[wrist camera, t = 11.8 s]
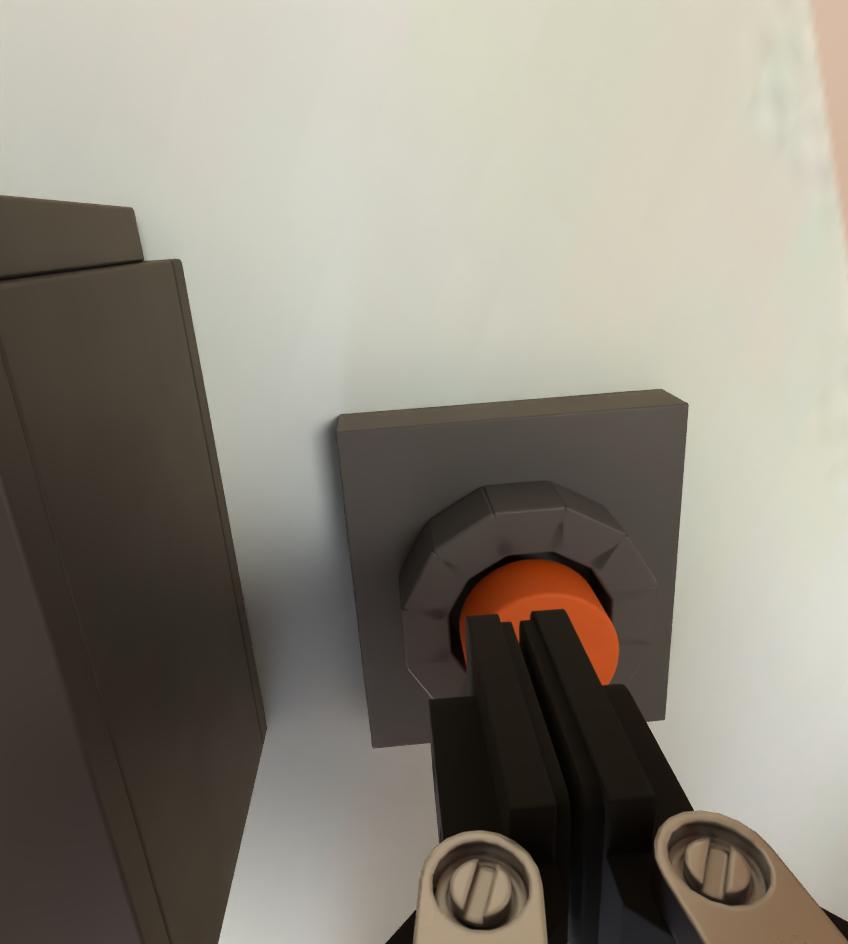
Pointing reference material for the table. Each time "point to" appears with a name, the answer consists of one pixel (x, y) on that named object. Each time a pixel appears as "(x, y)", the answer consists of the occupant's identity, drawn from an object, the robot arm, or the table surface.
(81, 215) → the drawer
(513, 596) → the button
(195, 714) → the cabinet
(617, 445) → the control block
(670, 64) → the table surface
